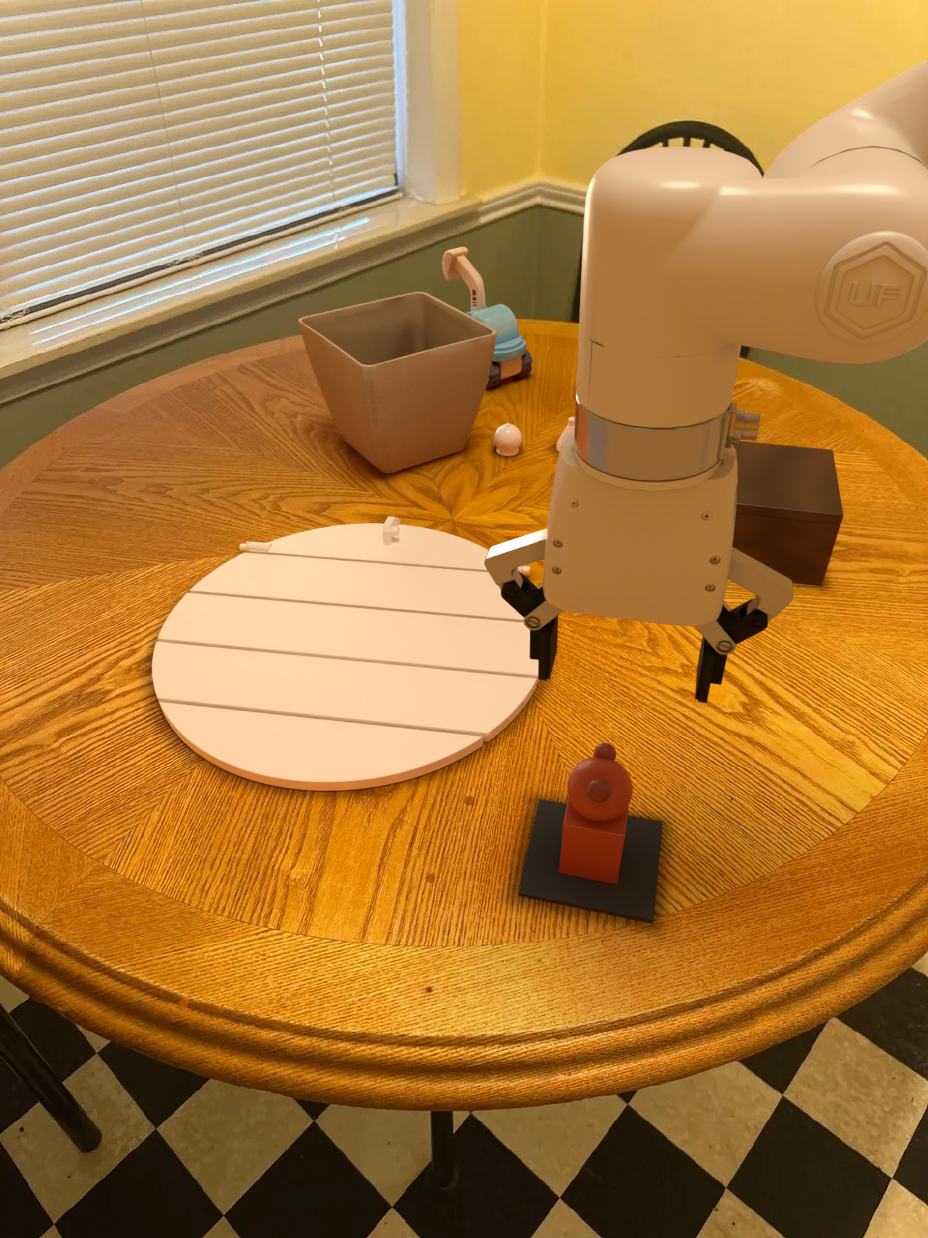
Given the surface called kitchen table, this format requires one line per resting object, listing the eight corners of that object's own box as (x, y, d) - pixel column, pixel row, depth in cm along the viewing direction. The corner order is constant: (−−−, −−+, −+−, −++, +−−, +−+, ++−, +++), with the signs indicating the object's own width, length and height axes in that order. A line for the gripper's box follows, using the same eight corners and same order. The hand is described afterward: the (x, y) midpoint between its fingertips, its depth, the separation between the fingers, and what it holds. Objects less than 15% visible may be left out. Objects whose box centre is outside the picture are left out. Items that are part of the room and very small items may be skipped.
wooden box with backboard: (814, 516, 103) (839, 425, 95) (821, 586, 93) (851, 489, 85) (701, 504, 106) (717, 414, 98) (696, 570, 95) (714, 475, 88)
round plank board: (242, 516, 106) (237, 492, 103) (561, 540, 100) (563, 515, 98) (79, 763, 75) (66, 736, 73) (524, 816, 70) (525, 789, 68)
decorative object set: (643, 452, 116) (646, 421, 113) (494, 457, 116) (495, 427, 113) (636, 436, 119) (640, 406, 117) (492, 441, 119) (492, 411, 116)
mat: (662, 824, 69) (662, 821, 69) (653, 923, 62) (653, 920, 62) (539, 801, 71) (539, 798, 71) (517, 895, 64) (517, 892, 64)
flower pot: (427, 401, 129) (421, 287, 118) (500, 452, 117) (501, 330, 106) (312, 436, 121) (294, 318, 110) (376, 495, 109) (364, 367, 98)
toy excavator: (475, 345, 145) (474, 239, 134) (536, 379, 134) (540, 265, 124) (433, 358, 142) (428, 249, 131) (492, 393, 131) (492, 278, 120)
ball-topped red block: (624, 834, 68) (639, 743, 61) (617, 889, 64) (632, 798, 57) (566, 823, 69) (575, 733, 62) (556, 876, 65) (564, 786, 58)
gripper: (825, 408, 44) (765, 655, 55) (497, 385, 48) (501, 622, 59) (837, 481, 39) (767, 740, 50) (465, 450, 42) (475, 697, 53)
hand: (623, 676), depth 54 cm, fingers open, 9 cm apart
